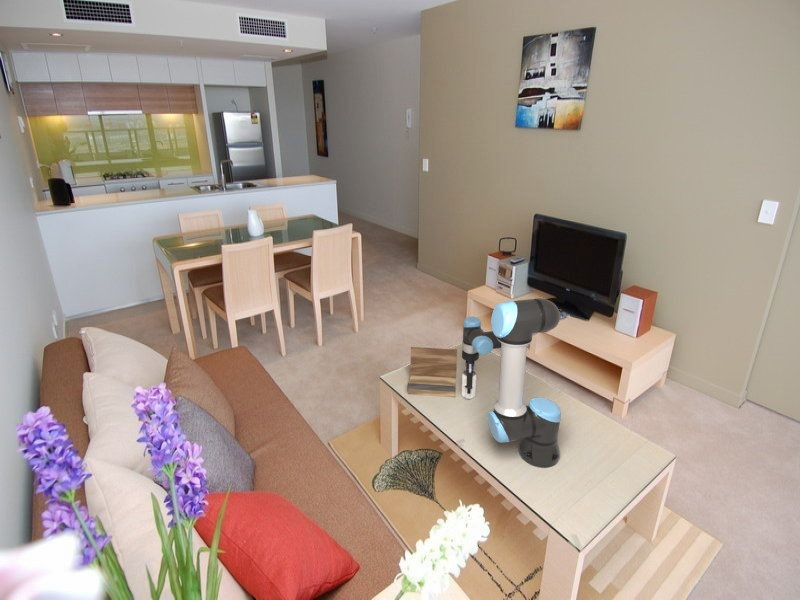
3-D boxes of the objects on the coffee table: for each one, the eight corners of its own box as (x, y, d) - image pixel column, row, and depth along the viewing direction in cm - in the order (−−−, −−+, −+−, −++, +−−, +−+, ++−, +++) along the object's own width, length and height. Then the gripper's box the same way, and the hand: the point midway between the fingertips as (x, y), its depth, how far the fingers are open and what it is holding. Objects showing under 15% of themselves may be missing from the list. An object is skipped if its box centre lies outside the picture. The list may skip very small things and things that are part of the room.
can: (464, 400, 212) (465, 377, 207) (459, 392, 218) (460, 370, 213) (477, 397, 214) (478, 375, 209) (471, 389, 219) (473, 368, 215)
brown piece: (455, 397, 214) (456, 363, 207) (408, 394, 217) (407, 361, 210) (455, 381, 226) (457, 349, 219) (411, 378, 229) (410, 346, 222)
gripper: (479, 362, 196) (477, 406, 205) (478, 339, 215) (476, 380, 224) (462, 361, 197) (460, 405, 206) (462, 338, 216) (460, 379, 225)
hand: (468, 392), depth 215 cm, fingers open, 8 cm apart
